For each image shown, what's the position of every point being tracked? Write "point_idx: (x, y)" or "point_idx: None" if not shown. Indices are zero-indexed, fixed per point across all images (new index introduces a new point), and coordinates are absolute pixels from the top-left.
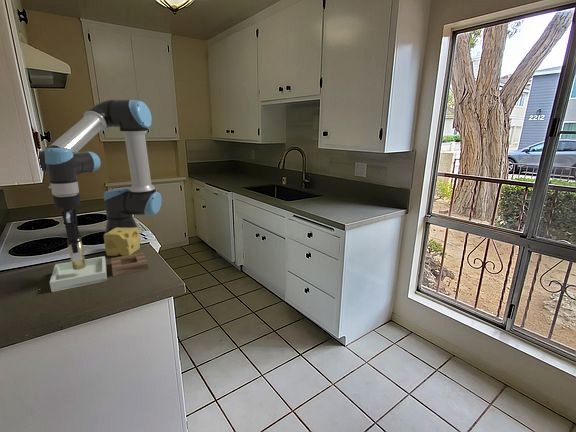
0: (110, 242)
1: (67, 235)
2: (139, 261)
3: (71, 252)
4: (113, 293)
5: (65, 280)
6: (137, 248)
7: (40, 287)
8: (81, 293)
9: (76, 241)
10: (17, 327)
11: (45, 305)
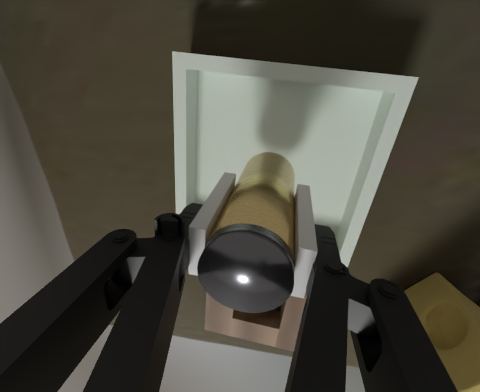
0: (464, 336)
1: (44, 289)
2: (233, 323)
3: (208, 198)
4: (103, 215)
5: (174, 114)
6: None
7: (265, 4)
8: (136, 145)
9: (108, 281)
10: None
11: (93, 34)
